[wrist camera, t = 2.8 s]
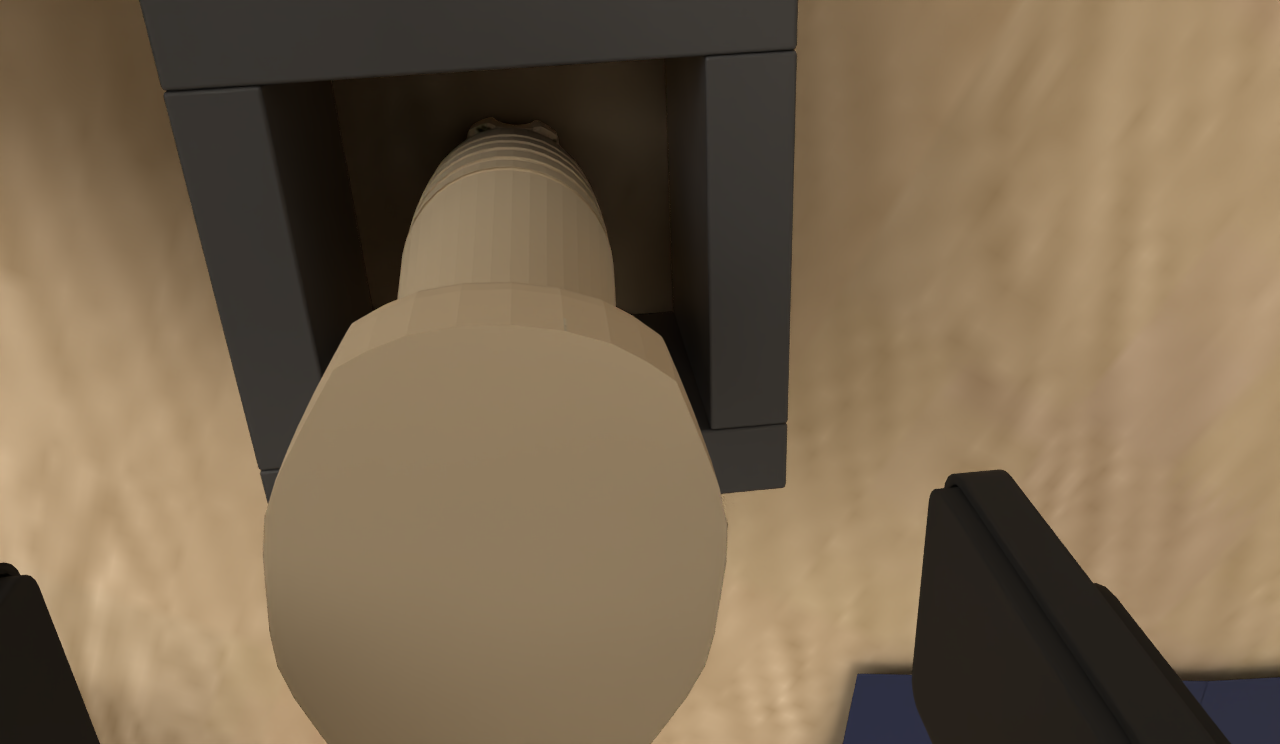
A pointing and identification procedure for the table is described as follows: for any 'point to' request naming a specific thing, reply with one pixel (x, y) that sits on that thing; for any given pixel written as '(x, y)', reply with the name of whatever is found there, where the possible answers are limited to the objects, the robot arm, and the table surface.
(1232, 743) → the navy flat block
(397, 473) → the handle
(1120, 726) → the robot arm
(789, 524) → the table surface
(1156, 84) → the table surface
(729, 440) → the holder
